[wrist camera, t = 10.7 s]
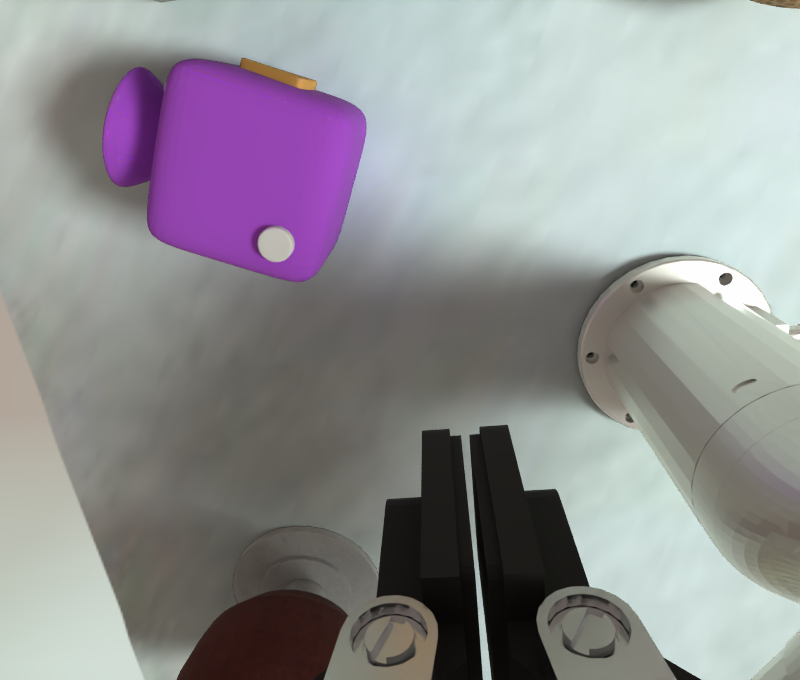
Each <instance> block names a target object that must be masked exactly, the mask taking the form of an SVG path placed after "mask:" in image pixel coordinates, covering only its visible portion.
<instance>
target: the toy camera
mask: <svg viewBox="0 0 800 680" xmlns="http://www.w3.org/2000/svg"><path fill="white" fill-rule="evenodd" d="M316 85H317V81H315V80H312V79H309V78H306V77H303V76H299V75H296V74H293V73H290V72H287V71H284V70H280V69H277V68H274V67H271V66H268V65H265V64H261V63H258V62H255V61H252V60H249V59H246V58H242V59H241V64H240V66H237V65H233V64H227V63H222V62H217V61H211V60H203V59H188V60H184V61H180V62H178V63H177V64H176V65H175V66H174V67H173V68H172V70H171V72H170V73H169V76H168V79H167V81H166V83H165V85H164V86H163V85H162V84H161V82H160V81H159V80H158V79H157V78H156V77H155V76H154V75H153V74H152V73H151V72H150V71H149V70H147V69H145V68H143V67H137V68H134V69H132V70H131V71H129V72H128V73H127V74H126V75H125V76H124V78H123V79H122V80H121V82H120V83H119V85H118V86H117V88H116V90H115V92H114V94H113V96H112V98H111V101H110V104H109V107H108V110H107V114H106V118H105V123H104V129H103V157H104V162H105V166H106V170H107V173H108V175H109V177H110V178H111V180H112V181H113V182H114V183H115V184H116V185H118V186H120V187H129V186H134V185H138V184H141V183H144V182H147V181H149V180H150V187H149V196H148V206H147V222H148V227H149V230H150V232H151V233H152V235H153V236H154V237H156V238H157V239H158V240H160V241H162V242H164V243H166V244H168V245H171V246H173V247H176V248H179V249H182V250H185V251H188V252H192V253H195V254H198V255H201V256H205V257H208V258H211V259H214V260H218V261H221V262H224V263H228V264H231V265H234V266H237V267H241V268H244V269H247V270H250V271H254V272H257V273H261V274H264V275H268V276H271V277H275V278H278V279H283V280H287V281H294V282H302V281H306V280H309V279H310V278H312V277H313V276H314V275H315V274H316V273H317V272H318V271H319V269H320V268H321V267H322V265H323V264H324V262H325V260H326V259H327V257H328V256H329V254H330V252H331V251H332V249H333V248H334V246H335V244H336V242H337V239H338V237H339V234H340V231H341V228H342V224H343V221H344V217H345V214H346V210H347V206H348V203H349V199H350V195H351V191H352V188H353V184H354V180H355V177H356V173H357V169H358V166H359V162H360V158H361V154H362V150H363V146H364V142H365V136H366V119H365V116H364V114H363V113H362V111H361V110H360V109H359V108H357V107H356V106H355V105H353V104H351V103H349V102H347V101H345V100H343V99H340V98H337V97H335V96H332V95H329V94H326V93H323V92H320V91H317V90H315V89H316Z"/></svg>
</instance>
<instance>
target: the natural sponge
mask: <svg viewBox="0 0 800 680" xmlns="http://www.w3.org/2000/svg"><path fill="white" fill-rule="evenodd" d="M751 1H754V2H757V3H761V4H766V5H771V6H777V7H784V8H797V9H800V0H751Z"/></svg>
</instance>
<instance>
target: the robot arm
mask: <svg viewBox="0 0 800 680" xmlns="http://www.w3.org/2000/svg"><path fill="white" fill-rule="evenodd" d="M722 274H723V276H722V277H721V278H720V279H719V277H720V275H722ZM635 280H636V284H635V285H634V286H630V285H631V283H632V282H633V281H635ZM590 352H592V354H591V355H590V356H587V354H588V353H590ZM577 359H578V366H579V372H580V375H581V378H582V380H583V383H584V385H585V388H586V389H587V391H588V393H589V394H590V396H591V398H592V400H593V401H594V402H595V403H596V404H597V405H598V407H599V408H600V409H601V410H602V411H603V412H604V413H606V414H607V415H608V416H610V417H611V418H612V419H613V420H615V421H617V422H619V423H621V424H623V425H625V426H627V427H630V428H633V429H637V430H640V431H641V433H642V434H643V436H644V438H645V439H646V441H647V442H648V444H649V445H650V447H651V448H652V450H653V451H654V453H655V455H656V456H657V458H658V459H659V461H660V462H661V464H662V465H663V467H664V469H665V470H666V472H667V473H668V475H669V476H670V478H671V479H672V481H673V482H674V484H675V486H676V487H677V489H678V490H679V492H680V493H681V495H682V496H683V498H684V499H685V501H686V503H687V504H688V506H689V507H690V509H691V510H692V512H693V513H694V515H695V517H696V518H697V520H698V521H699V523H700V524H701V525H702V527H703V528H704V530H705V532H706V533H707V535H708V536H709V538H710V539H711V541H712V542H713V544H714V545H715V547H716V548H717V549H718V550H719V552H720V553H721V554H722V555H723V557H724V558H725V559H726V560H727V561H728V562H729V563H730V564H731V565H732V566H733V567H734V568H735V569H737V570H738V571H739V572H740V573H741V574H743V575H744V576H746V577H747V578H749V579H750V580H752V581H753V582H755V583H756V584H758V585H759V586H761V587H763V588H764V589H766V590H768V591H770V592H773V593H775V594H777V595H780V596H782V597H784V598H787V599H789V600H792V601H795V602H797V603H800V324H798V325H796V326H788V325H787V324H786V323H784V322H782V321H781V320H779V319H778V318H776V317H774V316H773V315H772V313H771V310H770V306H769V304H768V302H767V301H766V299H765V297H764V295H763V293H762V292H761V290H760V289H759V288H758V287H757V286H756V285H755V284H754V283H753V281H752V280H751V279H749V278H748V277H746V276H745V275H744V274H742V273H741V272H739V271H738V270H736V269H735V268H733V267H731V266H729V265H727V264H725V263H723V262H719V261H716V260H713V259H709V258H706V257H697V256H675V257H666V258H663V259H659V260H655V261H652V262H648V263H646V264H644V265H642V266H639V267H637V268H635V269H633V270H631V271H629V272H628V273H626V274H625V275H623V276H622V277H620V278H619V279H618V280H616V281H615V282H614V283H613V284H612V285H610V286H609V287H608V288H607V289H606V290H605V291H604V292H603V293H602V294H601V295H600V297H599V298H598V299H597V301H596V302H595V303H594V305H593V306H592V308H591V309H590V311H589V313H588V315H587V317H586V319H585V321H584V323H583V325H582V329H581V333H580V336H579V340H578V353H577ZM627 413H628V414H627ZM470 451H471V466H472V480H473V495H474V509H475V524H476V538H477V551H478V562H479V571H480V580H481V589H482V598H483V606H484V615H485V624H486V633H487V642H488V651H489V660H490V668H491V677H492V680H701V679H699V678H697V677H696V676H694V675H692V674H690V673H689V672H687V671H685V670H684V669H682V668H680V667H679V666H677V665H675V664H673V663H672V662H670V661H668V660H667V659H665V658H663V656H662V655H661V653H660V651H659V650H658V648H657V647H656V645H655V643H654V642H653V640H652V638H651V637H650V635H649V633H648V632H647V630H646V629H645V627H644V625H643V624H642V622H641V620H640V619H639V617H638V616H637V614H636V613H635V612H634V611H633V610H632V608H631V607H630V606H629V605H628V604H627V603H626V602H624V601H623V600H621V599H620V598H619V597H617V596H616V595H614V594H611V593H609V592H606V591H604V590H602V589H598V588H592V587H590V586H589V583H588V580H587V577H586V575H585V572H584V569H583V566H582V563H581V560H580V557H579V554H578V551H577V548H576V545H575V542H574V539H573V536H572V533H571V530H570V527H569V524H568V521H567V518H566V515H565V512H564V509H563V506H562V503H561V500H560V497H559V494H558V492H557V490H556V489H548V490H532V491H524V488H523V484H522V480H521V476H520V472H519V468H518V464H517V460H516V456H515V452H514V448H513V444H512V440H511V436H510V432H509V428H508V425H499V426H484V427H480V434H475V435H470ZM313 680H483V677H482V663H481V649H480V635H479V621H478V607H477V594H476V581H475V570H474V559H473V549H472V540H471V530H470V520H469V511H468V501H467V491H466V481H465V472H464V462H463V452H462V443H461V435H460V436H450V431H449V429H441V430H426V431H422V484H421V497H416V498H400V499H387V501H386V507H385V517H384V527H383V537H382V547H381V557H380V567H379V577H378V587H377V597H376V598H375V599H372V600H369V601H367V602H366V603H364V604H362V605H360V606H359V607H357V608H356V609H355V610H354V611H353V612H352V613H351V614H350V615H349V616H348V617H347V619H346V621H345V622H344V624H343V626H342V628H341V630H340V633H339V636H338V639H337V642H336V645H335V648H334V651H333V654H332V657H331V660H330V663H329V666H328V668H327V669H325V670H324V671H323V672H322V673H320V674H319V675H318V676H317V677H315V678H314V679H313ZM750 680H800V630H799V631H798V632H797V633H796V634H795V635H794V636H793V637H792V638H791V639H790V640H789V641H788V642H787V644H786V646H785V648H784V649H783V650H782V651H780V652H779V653H778V654H777V655H776V656H775V657H774V658H773V659H772V660H771V661H770V662H769V663H768V664H767V665H765V666H764V667H763V668H762V669H761V670H760V671H759V672H758V673H757V674H756V675H755V676H754V677H753V678H752V679H750Z"/></svg>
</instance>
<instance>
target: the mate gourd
mask: <svg viewBox="0 0 800 680" xmlns="http://www.w3.org/2000/svg"><path fill="white" fill-rule="evenodd" d="M378 577H379V575H378V572H377V569H376V567H375V565H374V564H373V562H372V560H371V559H370V557H369V556H368V555H367V554H366V553H365V552H364V551H363V550H362V548H360V547H359V546H358V545H356V544H355V543H354V542H352V541H351V540H349V539H348V538H346V537H344V536H342V535H340V534H338V533H335V532H332V531H329V530H326V529H323V528H316V527H310V526H292V527H286V528H280V529H277V530H274V531H271V532H269V533H266V534H264V535H263V536H261V537H259V538H258V539H256V540H255V541H253V542H252V543H251V544H250V545H249V546H248V547H247V548H246V549H245V551H244V552H243V554H242V555H241V557H240V558H239V561H238V563H237V566H236V569H235V572H234V575H233V590H234V596H235V599H236V601H237V603H238V604H236V605H235V606H233V607H231V608H229V609H228V610H226V611H225V612H223V613H222V614H221V615H220V616H219V617H218V618H217V619H216V620H215V621H214V622H213V623H212V625H211V626H210V627H209V628H208V630H207V631H206V632H205V633H204V635H203V636H202V638H201V639H200V641H199V642H198V644H197V645H196V647H195V648H194V650H193V651H192V653H191V655H190V656H189V658H188V660H187V661H186V663H185V664H184V666H183V668H182V669H181V671H180V673H179V675H178V678H177V680H313V679H314V678H315V677H317V676H318V675H319V674H320V673H322V672H323V671H324V670H325V669H327V668H328V666H329V663H330V660H331V657H332V654H333V651H334V648H335V645H336V642H337V639H338V636H339V633H340V630H341V628H342V626H343V624H344V622H345V621H346V619H347V617H348V616H349V615H350V614H351V613H352V612H353V611H354V610H355V609H356V608H357V607H359V606H360V605H362V604H364V603H366V602H367V601H369V600H372V599H375V598H376V597H377V587H378Z"/></svg>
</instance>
